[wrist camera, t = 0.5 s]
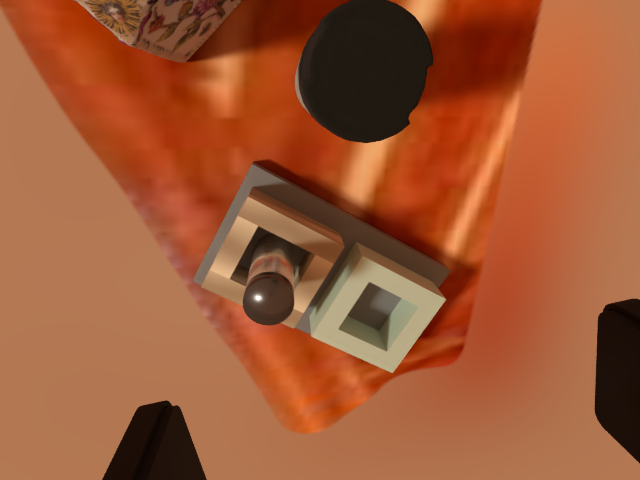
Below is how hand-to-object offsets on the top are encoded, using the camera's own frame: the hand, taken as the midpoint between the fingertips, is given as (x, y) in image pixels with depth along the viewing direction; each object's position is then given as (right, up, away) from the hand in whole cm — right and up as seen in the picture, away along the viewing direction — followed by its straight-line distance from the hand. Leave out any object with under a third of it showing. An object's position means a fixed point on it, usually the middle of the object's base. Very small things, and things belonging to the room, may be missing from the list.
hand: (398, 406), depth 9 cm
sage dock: (+4, -3, +35) cm, 36 cm away
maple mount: (-6, +2, +33) cm, 33 cm away
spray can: (-1, +18, +29) cm, 35 cm away
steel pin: (-6, +2, +33) cm, 33 cm away
